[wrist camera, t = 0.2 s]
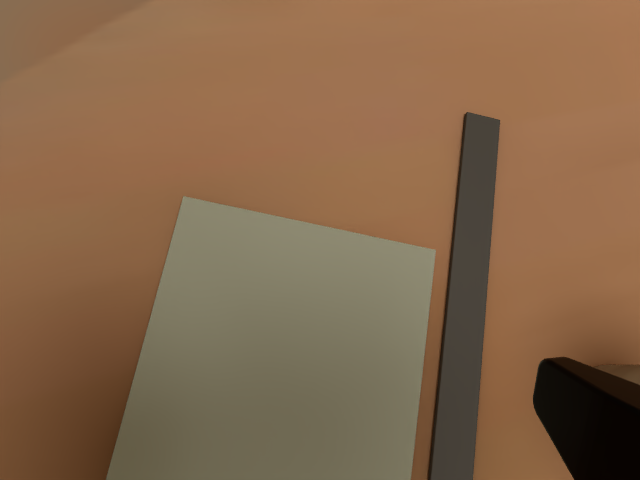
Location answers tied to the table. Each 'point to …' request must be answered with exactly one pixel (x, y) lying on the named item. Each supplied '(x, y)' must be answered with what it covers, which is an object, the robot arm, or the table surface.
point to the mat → (278, 354)
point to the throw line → (465, 304)
